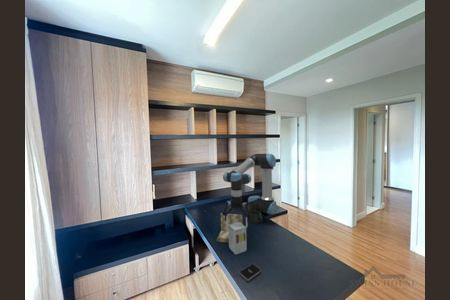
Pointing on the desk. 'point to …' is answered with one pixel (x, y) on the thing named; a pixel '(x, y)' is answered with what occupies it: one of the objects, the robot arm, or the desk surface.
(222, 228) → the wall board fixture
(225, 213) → the robot arm
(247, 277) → the external hard drive
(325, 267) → the desk surface
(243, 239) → the supplement box
